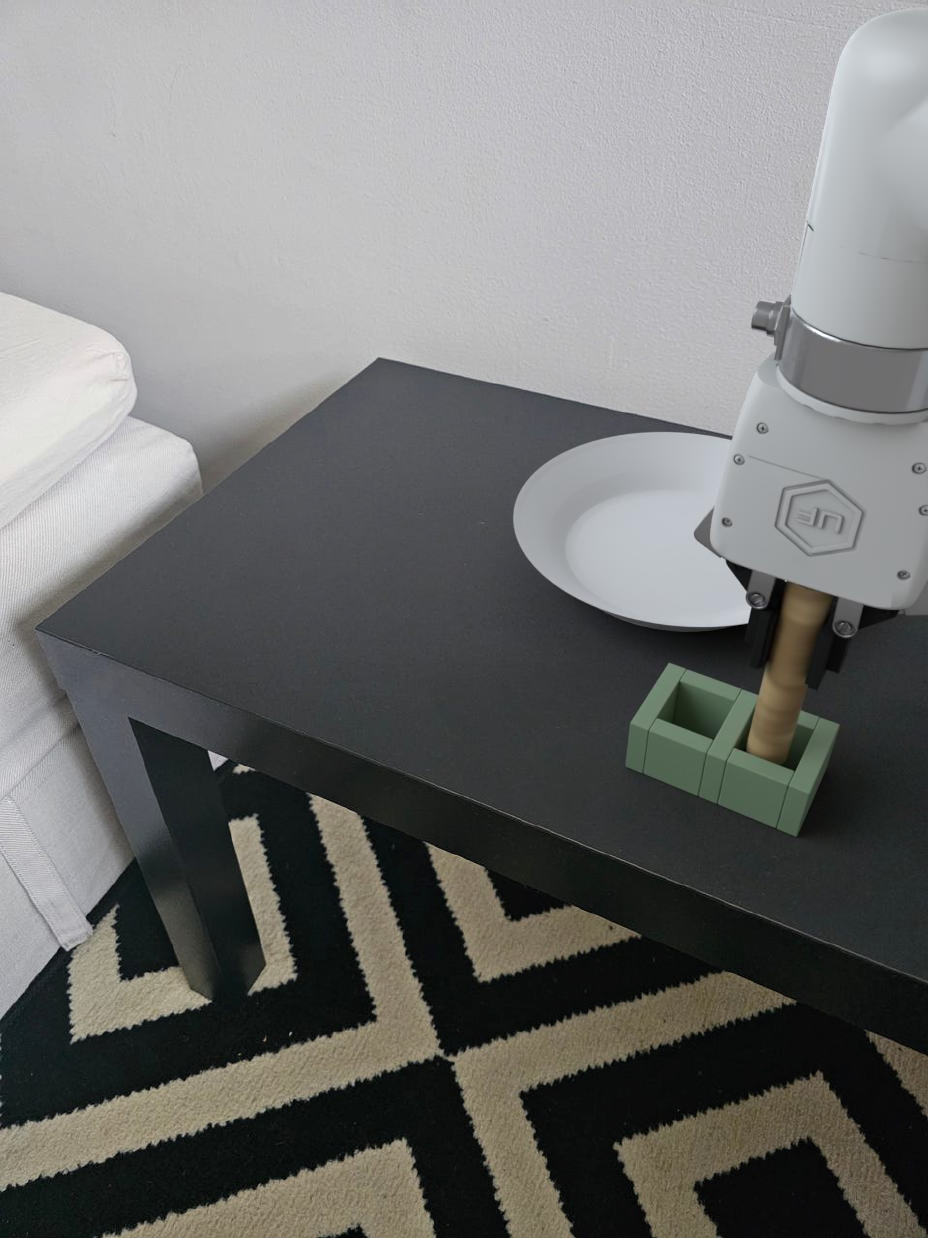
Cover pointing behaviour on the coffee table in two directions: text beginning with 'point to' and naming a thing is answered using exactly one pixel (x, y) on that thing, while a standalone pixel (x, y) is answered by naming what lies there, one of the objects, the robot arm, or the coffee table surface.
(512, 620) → the coffee table surface
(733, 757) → the holder
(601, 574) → the white plate
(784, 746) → the stick
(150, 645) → the coffee table surface
